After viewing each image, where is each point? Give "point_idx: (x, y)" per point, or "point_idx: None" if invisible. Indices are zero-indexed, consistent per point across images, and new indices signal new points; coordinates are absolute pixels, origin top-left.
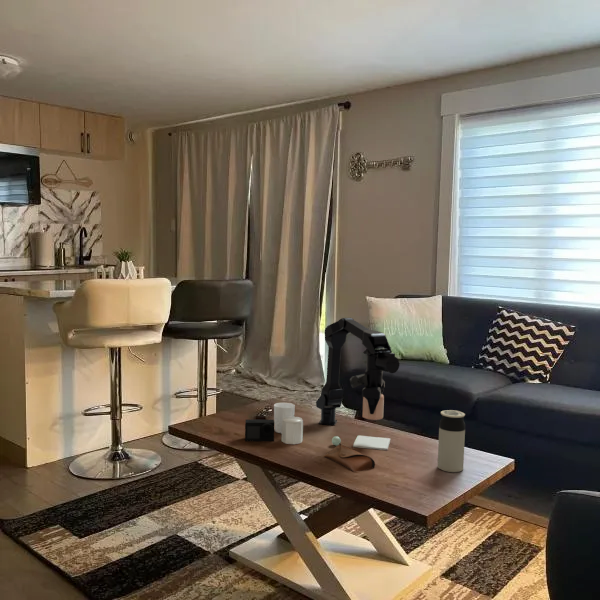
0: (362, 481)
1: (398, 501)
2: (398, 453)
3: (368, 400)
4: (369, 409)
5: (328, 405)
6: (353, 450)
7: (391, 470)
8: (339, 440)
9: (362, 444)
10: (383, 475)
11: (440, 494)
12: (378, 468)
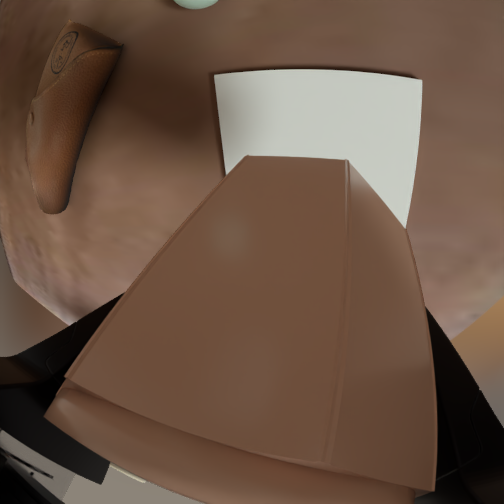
0: (12, 192)
1: (11, 253)
2: None
3: (26, 364)
4: (122, 295)
5: None
6: (44, 146)
7: (81, 247)
8: (181, 5)
9: (249, 120)
10: (51, 229)
11: (61, 311)
12: (71, 215)
